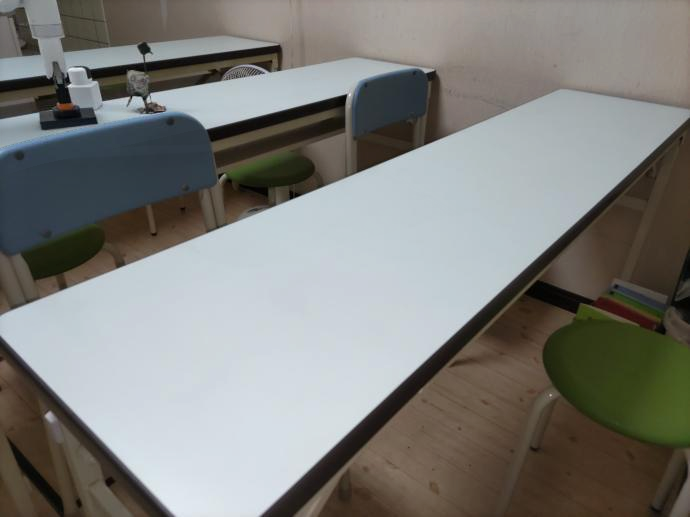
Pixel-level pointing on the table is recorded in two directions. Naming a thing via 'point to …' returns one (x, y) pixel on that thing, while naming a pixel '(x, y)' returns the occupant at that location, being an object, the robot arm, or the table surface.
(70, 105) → the release button
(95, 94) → the medicine bottle
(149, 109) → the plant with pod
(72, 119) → the button housing
